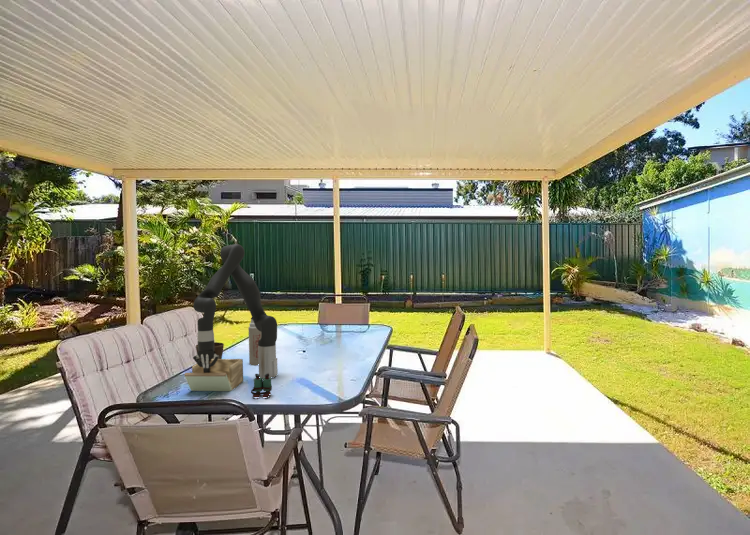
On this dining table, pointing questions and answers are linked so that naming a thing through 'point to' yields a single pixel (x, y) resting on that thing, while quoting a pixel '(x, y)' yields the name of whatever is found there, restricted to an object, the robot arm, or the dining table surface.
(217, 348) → the plant pot
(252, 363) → the thermos bottle
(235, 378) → the crate
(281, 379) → the dining table surface
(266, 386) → the binoculars
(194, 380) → the panel
